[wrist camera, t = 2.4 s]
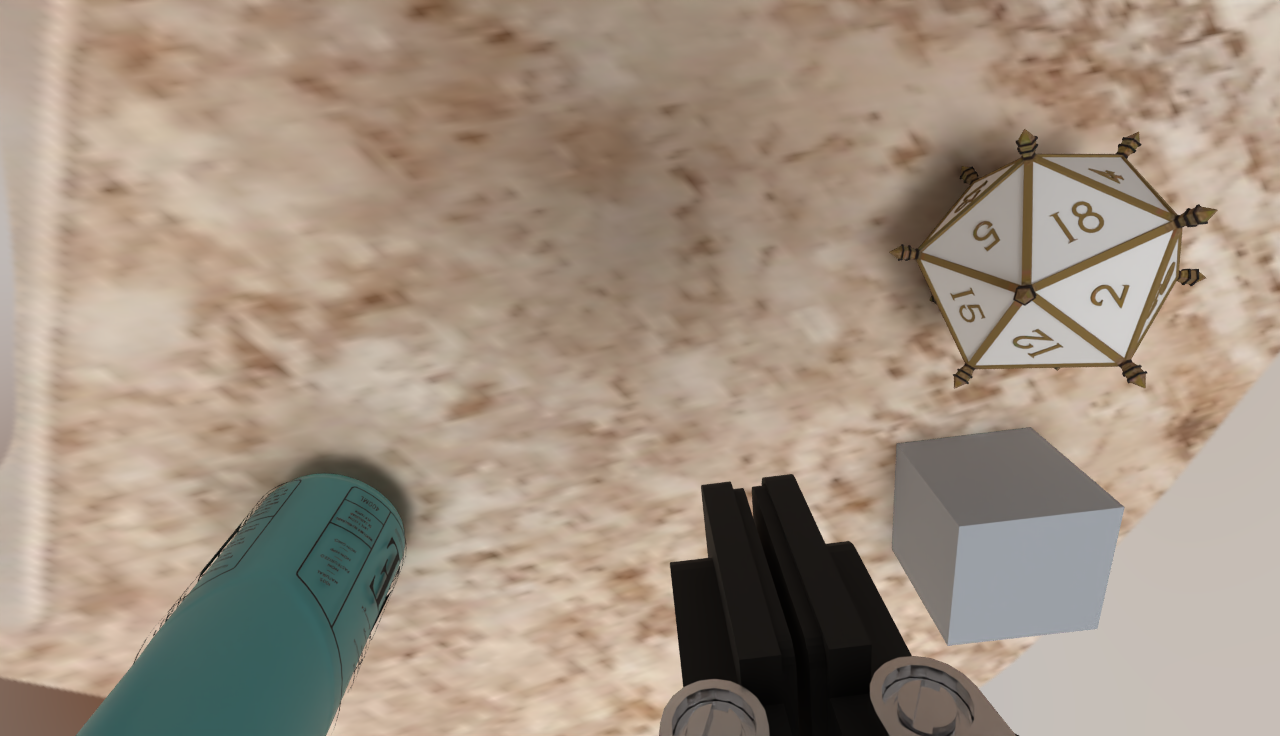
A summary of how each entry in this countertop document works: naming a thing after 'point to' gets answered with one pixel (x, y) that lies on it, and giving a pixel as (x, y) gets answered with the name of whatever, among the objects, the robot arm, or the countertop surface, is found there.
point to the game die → (1055, 262)
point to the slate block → (1002, 535)
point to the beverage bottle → (268, 621)
